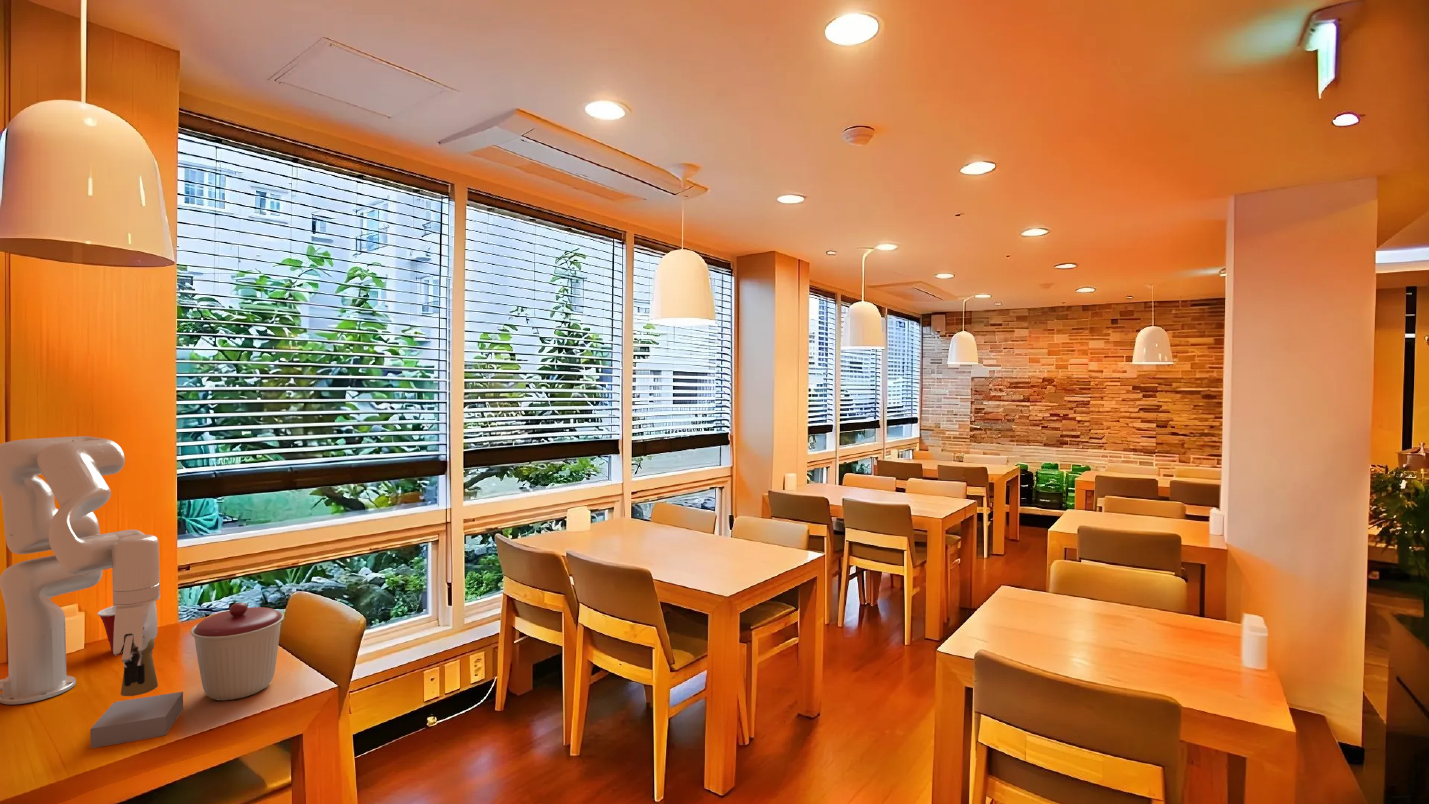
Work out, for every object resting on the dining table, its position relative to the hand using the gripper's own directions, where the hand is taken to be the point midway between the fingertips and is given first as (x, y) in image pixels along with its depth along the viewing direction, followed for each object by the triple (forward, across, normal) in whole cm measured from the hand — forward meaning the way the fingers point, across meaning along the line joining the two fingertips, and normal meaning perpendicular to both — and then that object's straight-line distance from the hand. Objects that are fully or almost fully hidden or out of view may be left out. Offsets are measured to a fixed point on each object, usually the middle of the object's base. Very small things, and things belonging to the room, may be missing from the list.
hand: (138, 678), depth 141 cm
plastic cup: (+11, -52, -18) cm, 56 cm away
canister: (+11, -12, +15) cm, 22 cm away
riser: (+11, 0, 0) cm, 11 cm away
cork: (+2, 0, 0) cm, 2 cm away
